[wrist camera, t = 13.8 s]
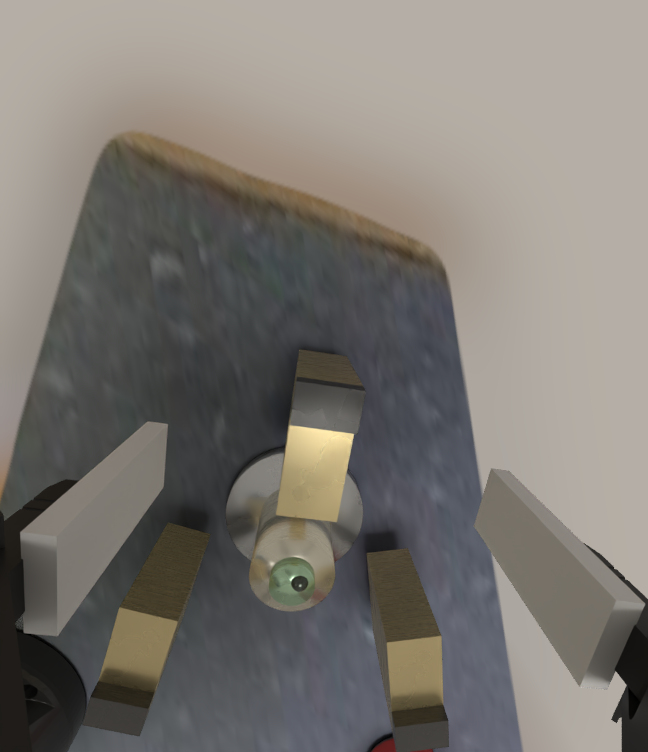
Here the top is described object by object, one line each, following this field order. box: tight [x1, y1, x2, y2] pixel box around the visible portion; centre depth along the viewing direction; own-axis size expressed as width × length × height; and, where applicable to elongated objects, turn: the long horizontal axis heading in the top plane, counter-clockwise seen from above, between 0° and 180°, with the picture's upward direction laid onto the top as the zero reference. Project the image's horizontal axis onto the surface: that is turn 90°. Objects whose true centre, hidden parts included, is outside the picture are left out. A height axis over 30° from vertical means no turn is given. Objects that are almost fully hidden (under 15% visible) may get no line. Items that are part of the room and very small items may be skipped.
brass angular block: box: [276, 349, 366, 522], centre depth 21 cm, size 7×3×8 cm, turn 171°
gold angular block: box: [83, 523, 211, 736], centre depth 23 cm, size 7×3×8 cm, turn 160°
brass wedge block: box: [367, 548, 449, 752], centre depth 25 cm, size 7×3×8 cm, turn 6°
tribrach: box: [226, 447, 363, 611], centre depth 24 cm, size 18×16×8 cm
